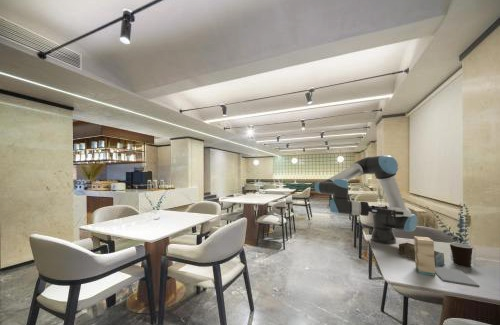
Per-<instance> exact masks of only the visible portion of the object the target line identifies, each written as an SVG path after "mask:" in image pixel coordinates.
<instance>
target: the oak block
mask: <svg viewBox="0 0 500 325" xmlns="http://www.w3.org/2000/svg"><path fill="white" fill-rule="evenodd" d="M413 240H414V245H415V259H414V261H415V262H414V263H415V264H414V265H415V269H416V271H417V272H418V273H419V274H421V275H428V276H436V273H435V259H434V251H435V245H434V244H435V242H434V240H433V239H431V238H430V237H427V236H426V237H425V236H413Z"/></svg>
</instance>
